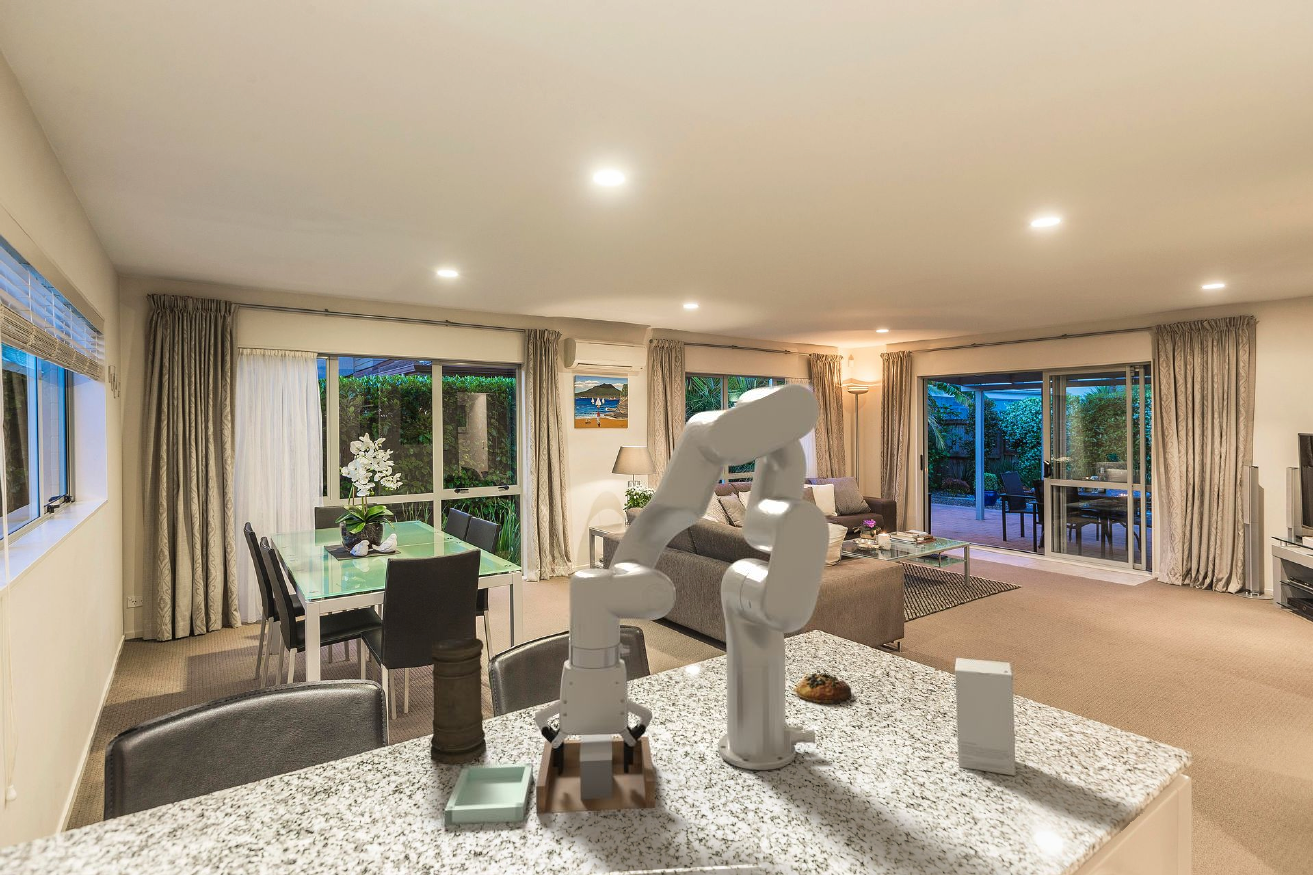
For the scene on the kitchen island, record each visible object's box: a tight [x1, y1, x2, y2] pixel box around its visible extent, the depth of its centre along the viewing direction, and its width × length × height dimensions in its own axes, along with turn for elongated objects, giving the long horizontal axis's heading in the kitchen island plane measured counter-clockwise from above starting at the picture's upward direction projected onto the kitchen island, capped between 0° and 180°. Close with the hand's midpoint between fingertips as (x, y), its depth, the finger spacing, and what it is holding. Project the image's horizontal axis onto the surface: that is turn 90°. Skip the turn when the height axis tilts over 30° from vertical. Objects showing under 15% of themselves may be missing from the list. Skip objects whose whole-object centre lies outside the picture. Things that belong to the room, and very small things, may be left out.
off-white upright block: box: [580, 734, 613, 800], centre depth 102 cm, size 5×7×6 cm, turn 4°
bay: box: [535, 736, 656, 815], centre depth 102 cm, size 16×14×4 cm
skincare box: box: [954, 657, 1017, 776], centre depth 108 cm, size 8×7×16 cm
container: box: [429, 636, 487, 765], centre depth 114 cm, size 9×9×18 cm
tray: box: [444, 762, 534, 827], centre depth 99 cm, size 10×12×2 cm
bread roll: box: [794, 672, 852, 705], centre depth 138 cm, size 11×11×5 cm
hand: (593, 770), depth 102 cm, fingers open, 9 cm apart
